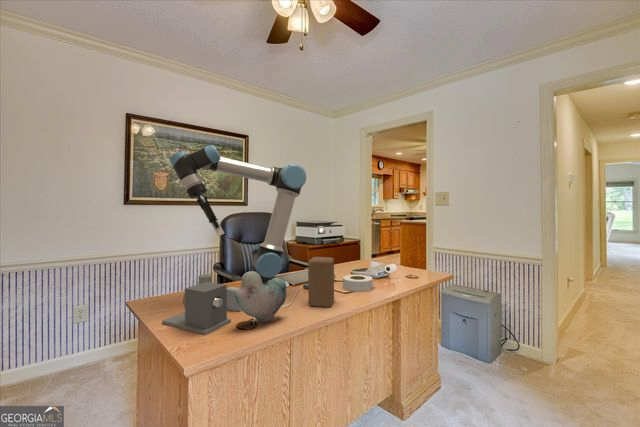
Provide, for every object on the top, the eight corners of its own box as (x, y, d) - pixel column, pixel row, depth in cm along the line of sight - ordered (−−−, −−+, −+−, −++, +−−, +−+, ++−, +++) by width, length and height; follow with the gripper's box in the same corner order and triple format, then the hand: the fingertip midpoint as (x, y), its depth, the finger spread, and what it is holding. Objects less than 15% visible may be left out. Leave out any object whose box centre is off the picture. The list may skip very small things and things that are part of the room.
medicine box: (246, 308, 125) (245, 288, 125) (239, 312, 121) (239, 291, 121) (230, 306, 128) (230, 286, 128) (223, 309, 124) (223, 289, 124)
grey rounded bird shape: (279, 312, 120) (279, 263, 120) (292, 319, 113) (292, 267, 113) (230, 326, 107) (230, 271, 106) (241, 334, 100) (241, 275, 99)
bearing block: (162, 323, 109) (161, 285, 109) (189, 313, 120) (188, 278, 120) (205, 335, 100) (205, 293, 99) (230, 322, 110) (230, 284, 110)
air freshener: (217, 292, 148) (217, 272, 148) (217, 297, 141) (216, 276, 140) (193, 294, 145) (193, 274, 145) (192, 299, 137) (192, 278, 137)
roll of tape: (343, 283, 165) (343, 273, 165) (371, 284, 163) (371, 274, 163) (342, 291, 150) (341, 280, 149) (373, 292, 148) (373, 281, 148)
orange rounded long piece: (183, 311, 107) (182, 289, 107) (200, 304, 114) (200, 284, 114) (211, 317, 101) (210, 294, 101) (227, 310, 108) (227, 288, 108)
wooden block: (330, 308, 125) (330, 261, 125) (307, 306, 127) (307, 260, 127) (334, 300, 135) (334, 257, 134) (313, 299, 137) (312, 256, 136)
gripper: (186, 193, 131) (212, 240, 131) (185, 186, 119) (213, 237, 119) (202, 186, 134) (228, 232, 134) (202, 178, 122) (230, 228, 122)
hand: (221, 234), depth 127 cm, fingers closed
